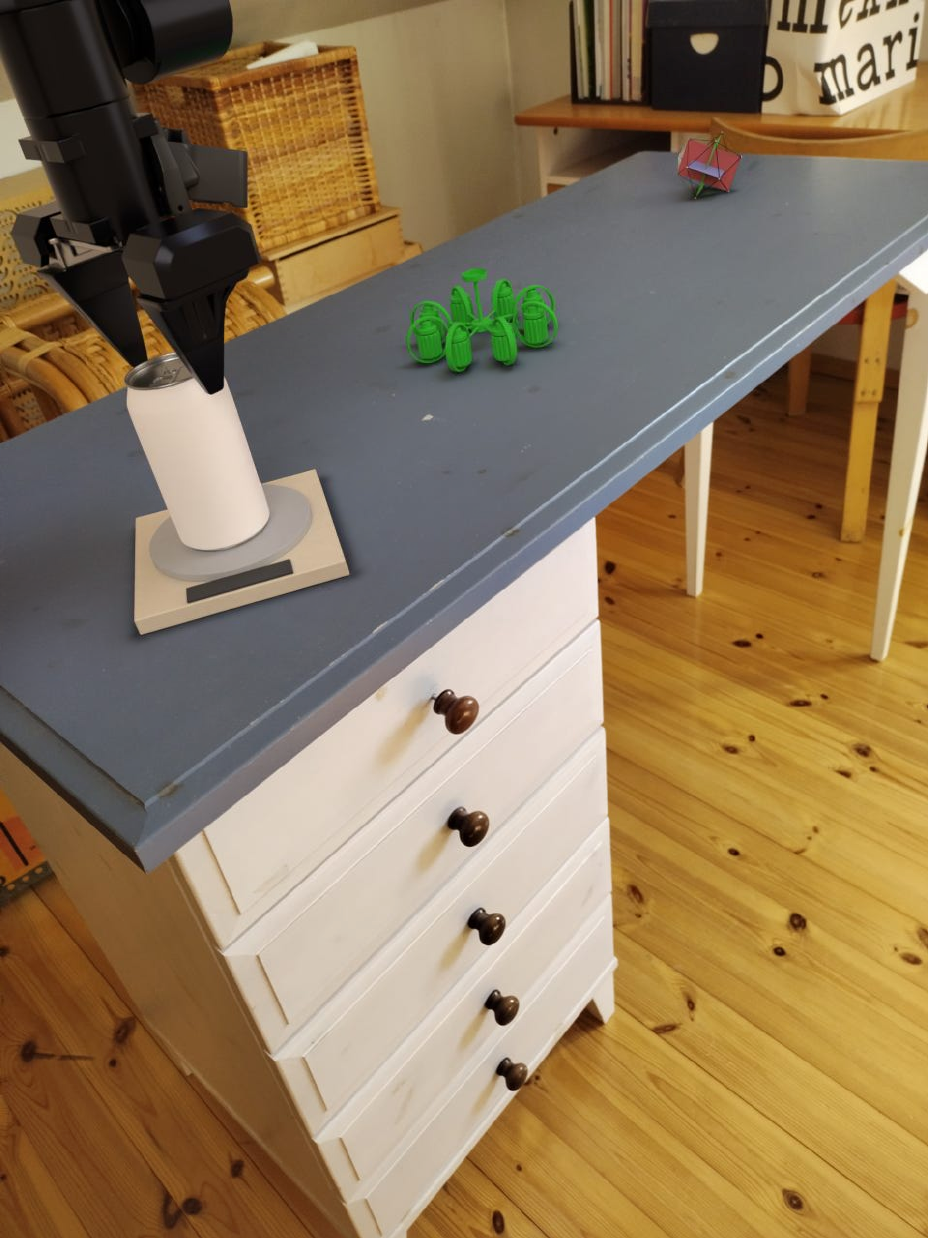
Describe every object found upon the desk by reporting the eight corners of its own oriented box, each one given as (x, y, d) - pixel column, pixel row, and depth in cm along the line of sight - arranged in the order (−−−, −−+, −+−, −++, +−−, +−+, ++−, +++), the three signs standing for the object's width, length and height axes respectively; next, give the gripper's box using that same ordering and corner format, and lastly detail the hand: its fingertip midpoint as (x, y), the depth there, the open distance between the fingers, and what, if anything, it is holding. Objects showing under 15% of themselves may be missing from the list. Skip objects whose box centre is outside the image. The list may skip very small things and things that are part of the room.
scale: (140, 635, 61) (130, 613, 60) (141, 531, 72) (132, 510, 71) (349, 575, 63) (343, 552, 62) (319, 482, 74) (313, 461, 73)
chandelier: (380, 376, 88) (364, 303, 84) (447, 314, 99) (435, 246, 94) (530, 382, 82) (520, 303, 78) (584, 315, 93) (578, 242, 88)
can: (281, 500, 69) (231, 342, 62) (257, 550, 64) (199, 384, 56) (198, 508, 70) (139, 353, 63) (168, 558, 65) (100, 395, 58)
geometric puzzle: (757, 163, 117) (718, 109, 115) (748, 179, 112) (707, 123, 110) (710, 202, 122) (671, 151, 120) (699, 219, 117) (659, 166, 115)
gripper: (298, 66, 49) (364, 353, 58) (123, 73, 61) (202, 311, 70) (109, 123, 43) (216, 430, 53) (-43, 118, 55) (67, 371, 65)
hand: (176, 377), depth 60 cm, fingers open, 9 cm apart
